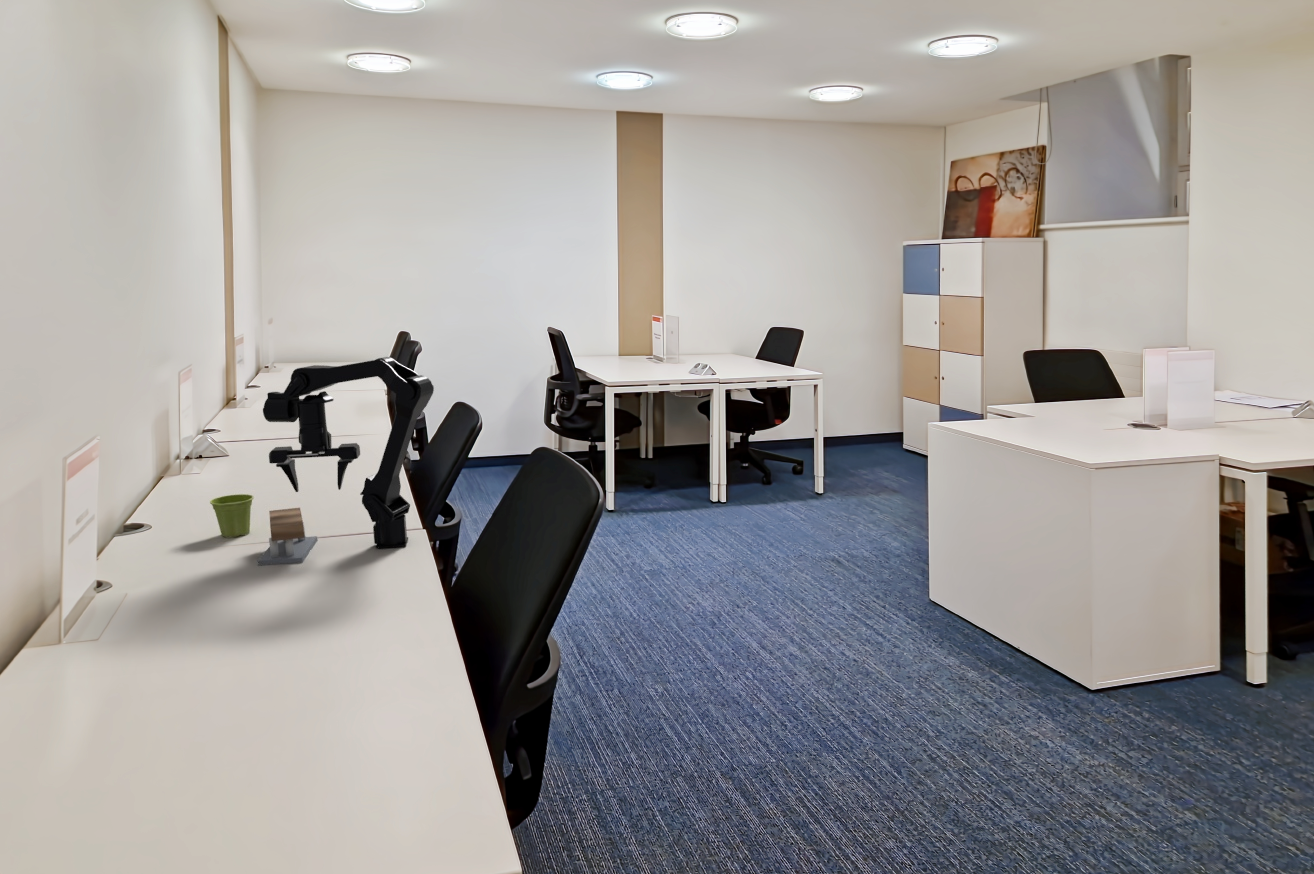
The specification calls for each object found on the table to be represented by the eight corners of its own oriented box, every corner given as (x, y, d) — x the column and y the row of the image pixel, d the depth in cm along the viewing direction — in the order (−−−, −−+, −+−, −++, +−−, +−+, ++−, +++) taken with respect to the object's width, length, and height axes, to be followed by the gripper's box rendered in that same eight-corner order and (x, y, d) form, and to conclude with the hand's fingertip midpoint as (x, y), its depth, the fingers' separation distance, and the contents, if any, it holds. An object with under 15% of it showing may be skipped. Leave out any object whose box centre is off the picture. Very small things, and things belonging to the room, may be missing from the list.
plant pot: (246, 539, 220) (242, 503, 218) (206, 540, 220) (202, 504, 218) (263, 528, 229) (260, 493, 227) (225, 529, 229) (221, 494, 228)
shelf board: (304, 537, 202) (303, 523, 201) (271, 541, 199) (270, 527, 199) (301, 520, 216) (300, 507, 216) (270, 523, 214) (269, 510, 213)
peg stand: (276, 543, 216) (274, 521, 215) (317, 540, 217) (315, 519, 217) (258, 565, 200) (255, 542, 199) (302, 562, 201) (300, 539, 200)
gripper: (361, 415, 221) (366, 480, 223) (277, 419, 218) (283, 485, 221) (353, 422, 210) (359, 491, 213) (265, 426, 207) (272, 496, 210)
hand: (318, 490), depth 214 cm, fingers open, 9 cm apart
